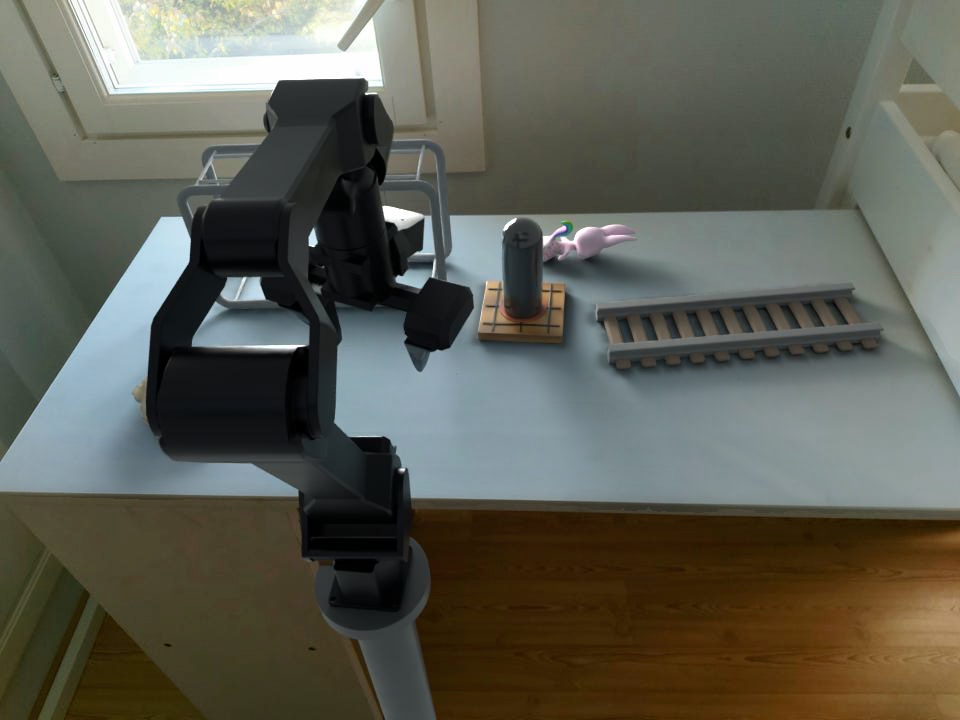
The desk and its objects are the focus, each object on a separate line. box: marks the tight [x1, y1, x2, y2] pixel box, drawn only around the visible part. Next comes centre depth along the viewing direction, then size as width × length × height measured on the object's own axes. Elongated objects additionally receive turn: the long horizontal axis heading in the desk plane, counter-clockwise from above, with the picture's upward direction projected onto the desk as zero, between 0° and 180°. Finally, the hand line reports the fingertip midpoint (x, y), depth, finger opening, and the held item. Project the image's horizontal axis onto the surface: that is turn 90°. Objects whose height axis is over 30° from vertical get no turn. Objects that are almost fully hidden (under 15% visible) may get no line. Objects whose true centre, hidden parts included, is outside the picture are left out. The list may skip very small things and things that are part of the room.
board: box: [477, 280, 566, 344], centre depth 92 cm, size 10×10×1 cm
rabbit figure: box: [543, 220, 638, 263], centre depth 99 cm, size 6×6×15 cm
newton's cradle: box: [176, 138, 453, 310], centre depth 93 cm, size 30×10×18 cm, turn 88°
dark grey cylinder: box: [500, 216, 544, 319], centre depth 88 cm, size 5×5×12 cm
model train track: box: [594, 281, 884, 371], centre depth 89 cm, size 11×31×2 cm, turn 94°
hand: (379, 355), depth 72 cm, fingers open, 9 cm apart
